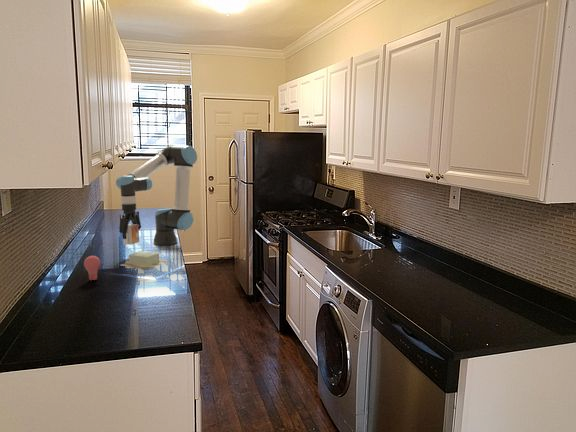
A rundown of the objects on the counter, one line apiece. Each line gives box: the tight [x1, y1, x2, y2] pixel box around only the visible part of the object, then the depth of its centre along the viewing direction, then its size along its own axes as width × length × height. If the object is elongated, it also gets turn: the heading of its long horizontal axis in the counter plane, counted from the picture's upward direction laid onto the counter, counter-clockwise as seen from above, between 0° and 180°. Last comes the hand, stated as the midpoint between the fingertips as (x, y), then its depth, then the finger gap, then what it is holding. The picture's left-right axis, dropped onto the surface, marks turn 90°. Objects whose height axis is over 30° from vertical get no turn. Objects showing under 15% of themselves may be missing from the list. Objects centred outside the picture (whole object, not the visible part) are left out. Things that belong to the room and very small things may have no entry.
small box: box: [122, 223, 140, 246], centre depth 249 cm, size 8×6×10 cm
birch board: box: [119, 259, 169, 270], centre depth 237 cm, size 18×18×1 cm
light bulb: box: [83, 255, 101, 281], centre depth 208 cm, size 7×7×12 cm
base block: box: [128, 250, 160, 266], centre depth 236 cm, size 10×12×5 cm
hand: (131, 242), depth 249 cm, fingers closed on small box, 8 cm apart
